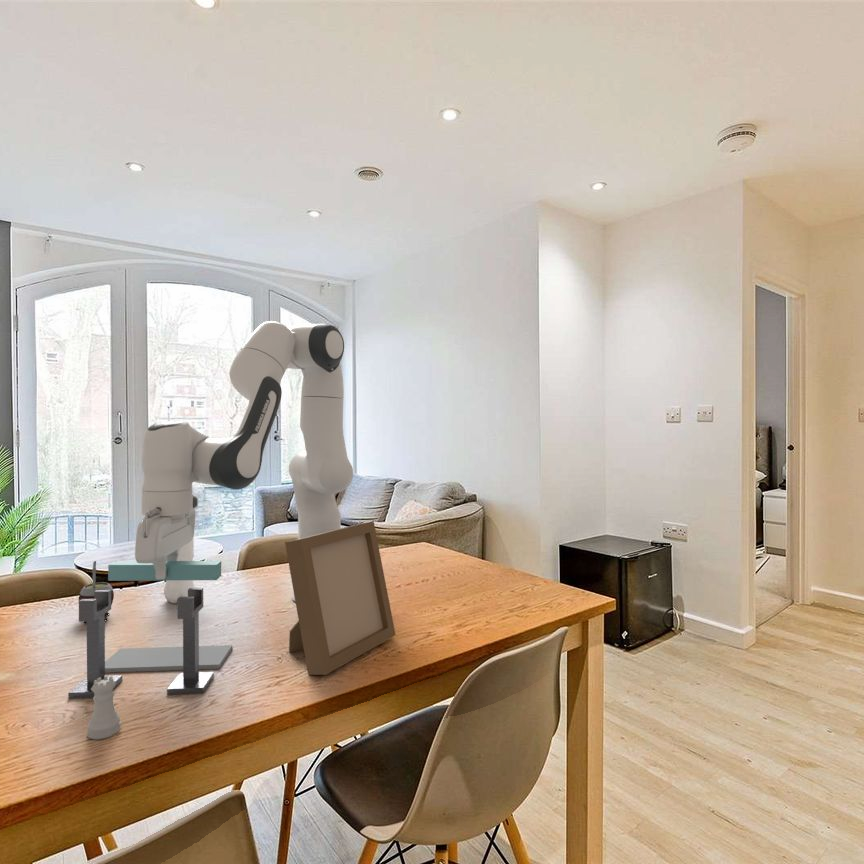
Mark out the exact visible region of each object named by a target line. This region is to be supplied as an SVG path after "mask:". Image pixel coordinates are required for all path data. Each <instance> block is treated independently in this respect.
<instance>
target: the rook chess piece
mask: <svg viewBox="0 0 864 864" xmlns="http://www.w3.org/2000/svg"><path fill="white" fill-rule="evenodd" d="M108 676H109V675H105V676H104V680H101V677H100V678H98V679H97V680H95V681H94V685H93V686H92V688H91V690H92V691H93V692H94V693H95V695H94V697H93V698H92V700H93V702H94V703H93V712H92V716H91V718H90V720H89V722H88V724H87V726H86V727H87V731H86V736H87V737H88V738H89V739H91V740H95V741H100V740H104V739H108V738H110V737H112V736H114V735H116V734H117V733H118V732H119V730H120V728H121V727H122V725H121V723H120V722H121V717H120V715H119V714H118V713H117V711H116V708H115V704H114V696H115V692H114V689H115V688H116V687H115V685H116V682H115V681H113V677H112V676H110V677H109V679H108ZM114 687H115V688H114ZM113 688H114V689H113Z"/></svg>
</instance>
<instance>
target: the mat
mask: <svg viewBox="0 0 864 864" xmlns="http://www.w3.org/2000/svg"><path fill="white" fill-rule="evenodd" d="M232 650H233V645H232V644H227V645H226V644H225V645H224V644H223V645H199V670H215V669H216V670H219V669H220V668H222V666H223V664H224V663H225V661H226V660H227V658H228V656H229V655H230V653H231V651H232ZM136 671H137V672H160V671H161V672H163V671H183V646H165V647H163V646H162V647H161V646H160V647H159V646H158V647H128V648H126V647H125V648H119V649H118V650H117V651H116V652H115V653H114V654H113V655H111V656H110V657H109V658H108V659H107V660H105V674H106V673H129V672H130V673H133V672H136Z"/></svg>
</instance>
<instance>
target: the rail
mask: <svg viewBox="0 0 864 864" xmlns="http://www.w3.org/2000/svg"><path fill="white" fill-rule="evenodd" d="M107 567H108V570H107V571H108V572H107V573H108V575H107V581H108V582H109V581H110V582H112V581H119V582H121V581H124V582H125V581H128V582H129V581H132V582H133V581H137V582H138V581H141V582H142V581H166V580H193V581H217V580H218V579H219V578H221V577H222V560H192V561H166V568H168V576H167V577H166V578H165V579H156V578H155V568H154V566H153V563H137V561H136V560H116V561H113V562H112V563H109V564H108V566H107Z"/></svg>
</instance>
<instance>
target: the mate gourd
mask: <svg viewBox="0 0 864 864" xmlns="http://www.w3.org/2000/svg"><path fill="white" fill-rule="evenodd" d="M91 572H92V583H90V584H86V585H84V586H83V587H82V589H80V590H81V591H80V592H79V596H78V602H79V601H80V600H81V599H94V592H95V591H96V590H111V606H112V605H113V602H114V599H115V597H114V596H115V594H114V592H115V591H114V590H113V589H114V588H113V587H112V585H111V584H110V583H108V582H104V581H102V582H96V579H97V577H96V573H97V561H96V560H95V561H93V562H92V569H91ZM108 614H109V615H110V612H109V611H108V612H106V613H105V620H107V619H108V620H109V618H107V616H106V615H108ZM109 615H108V616H109ZM108 620H107V621H108ZM84 623H87V621H86V622H83V624H84Z"/></svg>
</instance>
